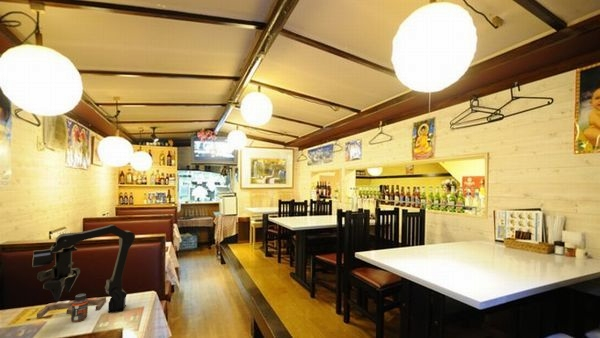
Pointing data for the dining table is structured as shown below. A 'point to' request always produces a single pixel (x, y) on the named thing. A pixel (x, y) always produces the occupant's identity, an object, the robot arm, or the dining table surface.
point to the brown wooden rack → (68, 304)
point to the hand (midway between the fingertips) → (62, 296)
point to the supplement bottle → (79, 308)
